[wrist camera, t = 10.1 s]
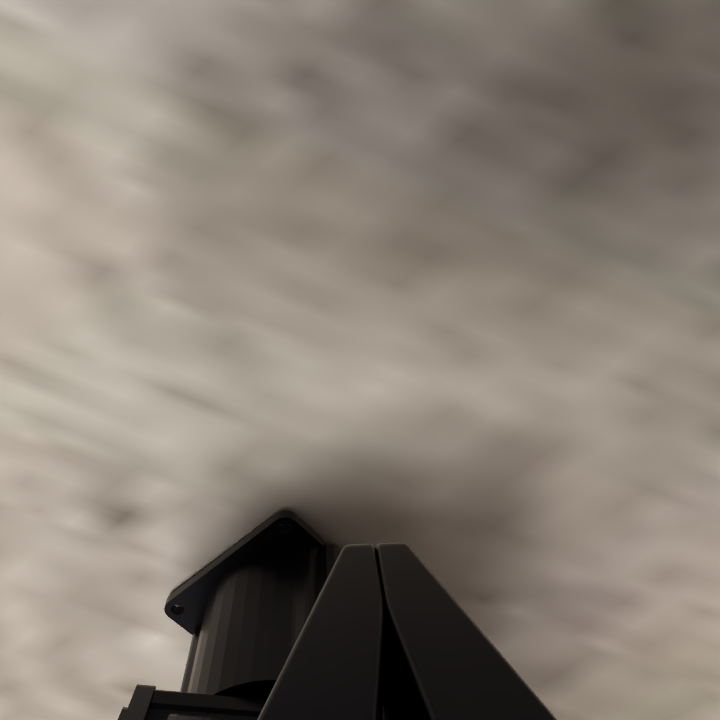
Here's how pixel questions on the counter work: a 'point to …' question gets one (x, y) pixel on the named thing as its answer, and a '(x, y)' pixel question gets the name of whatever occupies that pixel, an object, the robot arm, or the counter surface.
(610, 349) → the counter surface
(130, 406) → the counter surface
